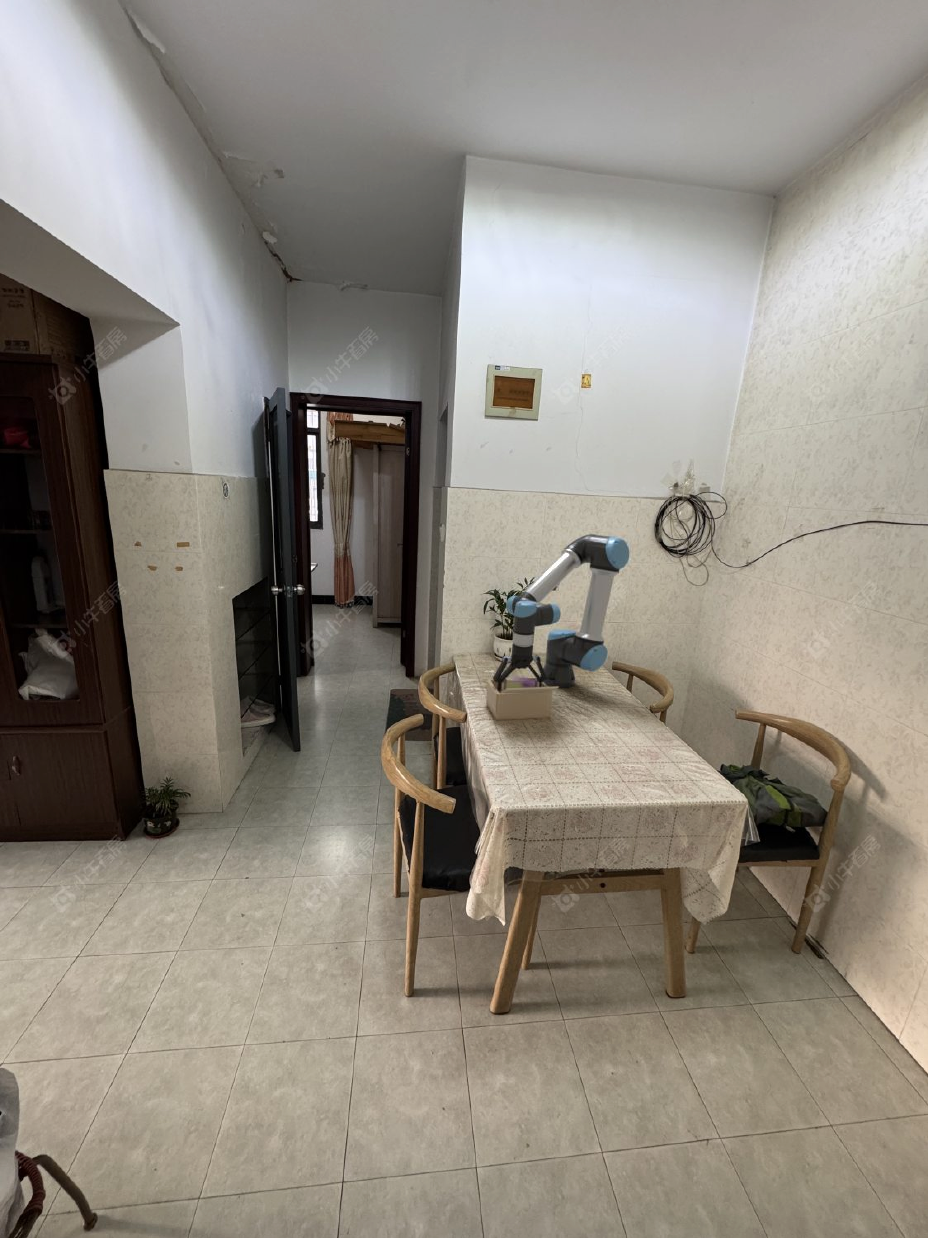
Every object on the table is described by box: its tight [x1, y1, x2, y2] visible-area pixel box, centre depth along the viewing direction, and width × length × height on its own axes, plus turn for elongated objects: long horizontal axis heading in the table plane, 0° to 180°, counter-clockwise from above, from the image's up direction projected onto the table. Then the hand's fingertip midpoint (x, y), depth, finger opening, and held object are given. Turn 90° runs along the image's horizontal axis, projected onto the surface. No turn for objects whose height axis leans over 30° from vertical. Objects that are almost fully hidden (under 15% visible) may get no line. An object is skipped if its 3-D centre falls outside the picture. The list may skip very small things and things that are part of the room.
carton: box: [485, 677, 553, 721], centre depth 187 cm, size 21×14×10 cm
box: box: [506, 675, 535, 689], centre depth 186 cm, size 10×6×12 cm, turn 85°
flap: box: [501, 686, 560, 694], centre depth 174 cm, size 19×8×1 cm
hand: (518, 698), depth 187 cm, fingers open, 13 cm apart
